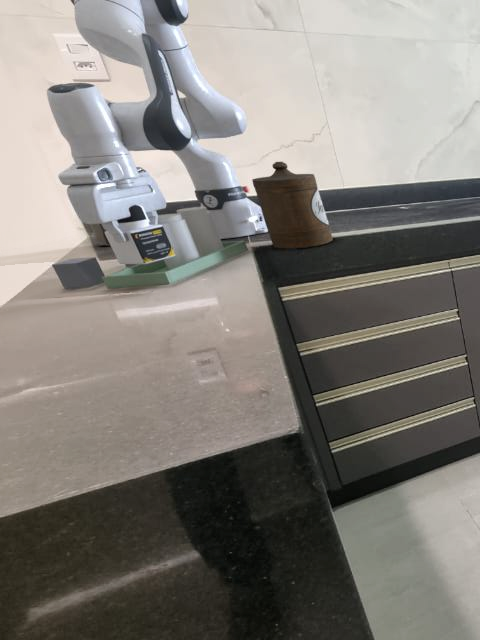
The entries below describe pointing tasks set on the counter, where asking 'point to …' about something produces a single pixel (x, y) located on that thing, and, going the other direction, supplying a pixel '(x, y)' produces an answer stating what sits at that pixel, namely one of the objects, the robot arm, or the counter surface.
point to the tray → (161, 275)
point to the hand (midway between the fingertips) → (139, 237)
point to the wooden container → (292, 209)
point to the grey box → (79, 273)
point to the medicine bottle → (140, 239)
